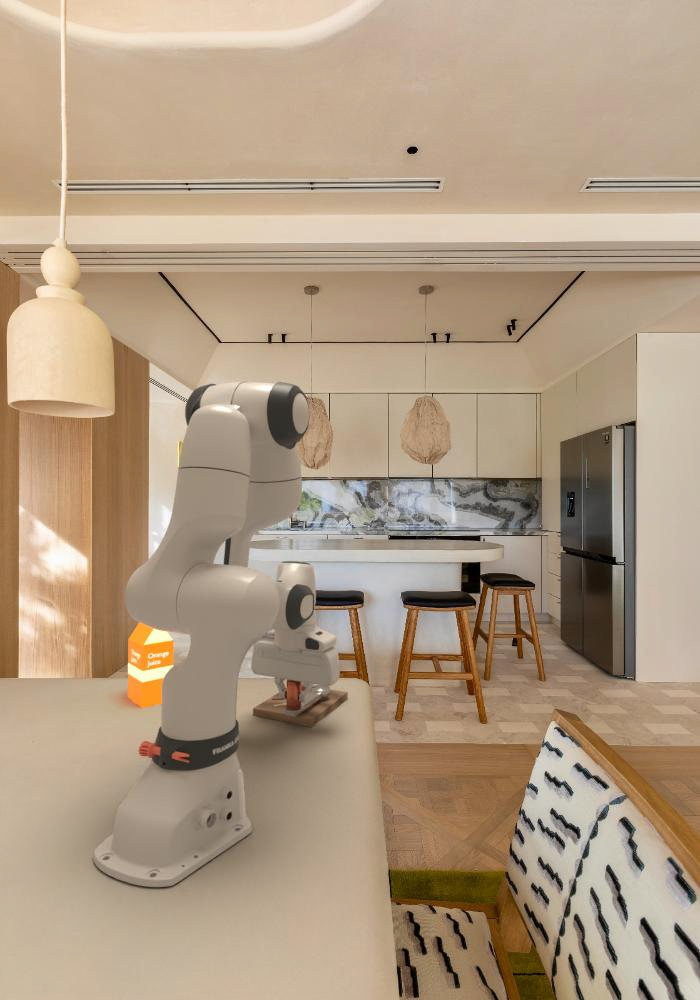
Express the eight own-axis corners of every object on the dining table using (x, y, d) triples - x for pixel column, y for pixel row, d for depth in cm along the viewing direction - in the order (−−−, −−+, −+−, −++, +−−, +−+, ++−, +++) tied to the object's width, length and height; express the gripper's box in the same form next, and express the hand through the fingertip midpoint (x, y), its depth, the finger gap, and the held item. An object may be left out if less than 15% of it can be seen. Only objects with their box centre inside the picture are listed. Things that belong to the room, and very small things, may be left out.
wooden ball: (302, 696, 135) (303, 679, 135) (288, 693, 137) (288, 677, 137) (310, 690, 139) (310, 674, 139) (296, 688, 140) (296, 672, 140)
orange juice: (141, 708, 129) (142, 622, 129) (127, 697, 136) (128, 615, 136) (173, 700, 135) (174, 617, 135) (158, 690, 141) (159, 611, 141)
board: (312, 727, 120) (312, 701, 120) (252, 715, 126) (253, 690, 126) (347, 698, 138) (347, 675, 138) (294, 689, 144) (294, 667, 144)
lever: (299, 719, 118) (299, 683, 118) (277, 715, 121) (277, 680, 121) (332, 694, 134) (333, 663, 134) (312, 691, 136) (313, 660, 136)
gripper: (246, 633, 122) (245, 696, 122) (330, 644, 114) (329, 712, 114) (261, 627, 128) (260, 688, 128) (343, 637, 120) (342, 702, 120)
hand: (293, 699), depth 121 cm, fingers open, 3 cm apart
